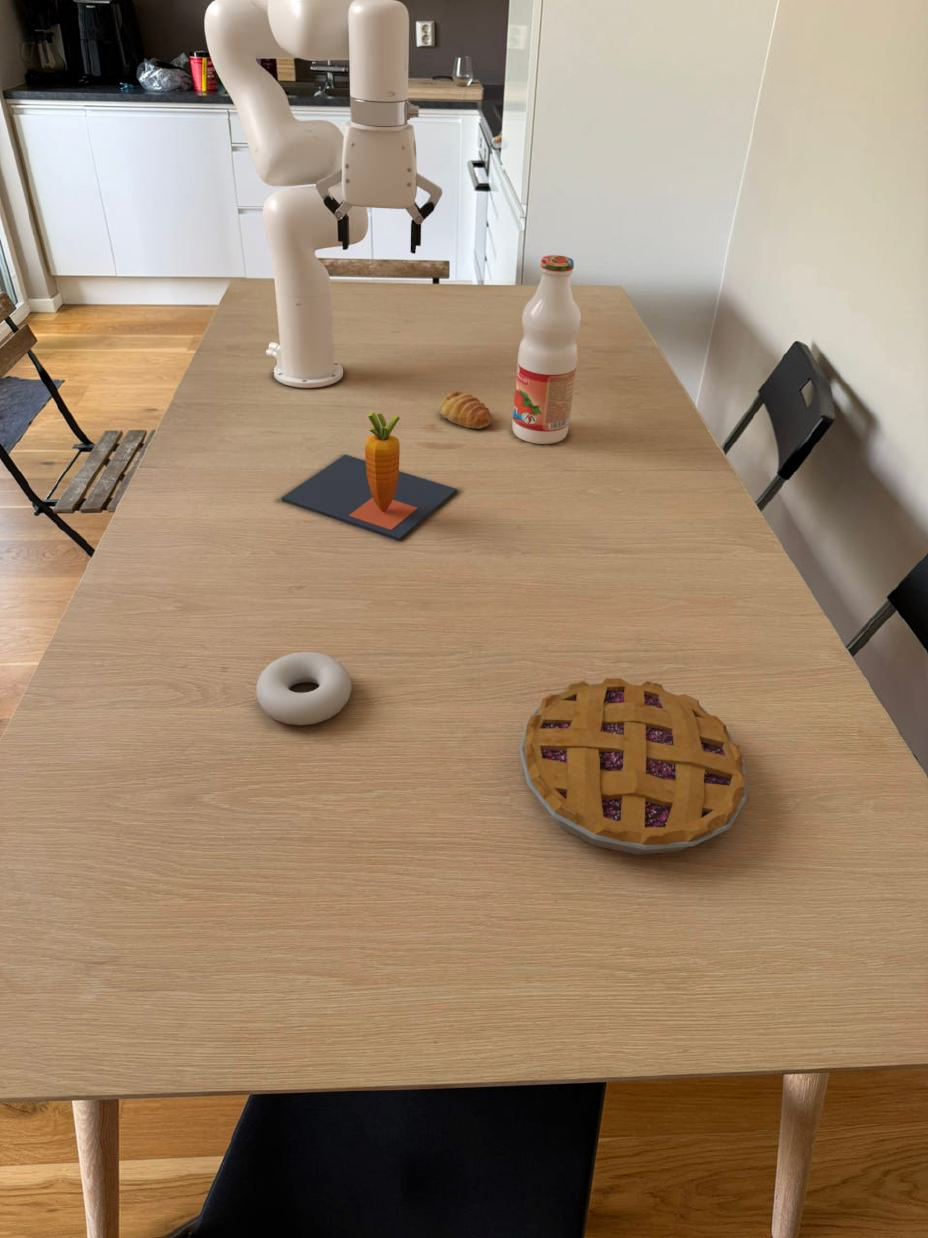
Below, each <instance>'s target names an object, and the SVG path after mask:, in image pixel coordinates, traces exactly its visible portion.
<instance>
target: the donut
mask: <svg viewBox="0 0 928 1238" xmlns="http://www.w3.org/2000/svg"><path fill="white" fill-rule="evenodd" d="M304 683H311V684H315V685H317V686H318V687H316V689H314V690H311V691H308V692H307V691H306V692H296V691H292V690H290V689H291V688H292V687H294V686H295V685H299V684H304ZM352 687H353V686H352V681H351V677H350V673H349V672H348V670H347V668H346V667H345V666H344V665H343V664H342V662H340V661H338V660H337V659H336V658H334V657H333V656H330V655H327V654H323V653H321V652H315V651H300V652H292V653H290V654H286V655H283V656H281V657H279V658H277V659H276V660H274V661H273V662H271V663H269V664H268V665H267V666H266V667H265V668H264V669H263V670H262V671H261V673H260V675H259V677H258V680H257V682H256V686H255V691H256V692H255V693H256V699H257V703H258V704H259V706H260V708H261V709H262V711H263V712H264V713H265V714H266V715H268V716H269V717H271V718H272V719H273V720H275V721H278V722H281V723H283V724H286V725H296V726H307V725H315V724H318V723H321V722H324V721H327V720H329V719H331V718H333V717H334V716H335V715H337V714H339V713H340V711H341V710H342V709H343V708H344V707H345V705H346V704H347V703H348V701H349V699H350V695H351V692H352Z"/></svg>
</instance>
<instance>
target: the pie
mask: <svg viewBox="0 0 928 1238" xmlns="http://www.w3.org/2000/svg"><path fill="white" fill-rule="evenodd" d="M699 701H700V700H698V699H696V698H694V697H692V696H690V695H688V694H686V693H683V694H679V695H677V694H675V693H672V692H670V691H668V690H665V689H664V687H663V685H662V684H661V683H656V682H652V681H648V680H647V681H645V682H643V683H642V684H640V685H639V684H634V683H629V682H627V681H625V680H624V679H622V677H621V678H613V677H612V678H605V679H604V680H603V681H602V682H601V683H600V682H599V683H587V682H586V681H585V680H582V681H578V682H573V683H569V685H568V687H567V688H566V689H565V690H563V691H560V692H557V693H550V694H549V695H547V696H546V697H543V698H542V699H541V702H540V705H539V707H538V708H537V709H536V710H534V712H533V713H532V714H531V715H530V716H529V717H528V718H527V719H526V723H525V727H524V731H523V735H522V738H521V743H520V747H519V755H520V758H521V763H522V767H523V771H524V775H525V779H526V783H527V786H528V787H529V788H530V790H531V791H532V792H533V794H534V795H535V796H536V797H537V799H538V800H539V801H540V803H542V805H543V807H545V809H546V810H547V811H548V812H549V814H550V815H551V817H552V818H553V819H554V821H555V822H556V823H557V824H558V826H559V827H560V829H562V830H563V831H565V832H567V833H569V834H571V835H573V836H574V837H576V838H578V839H580V840H582V841H584V842H586V843H588V844H590V845H592V846H594V847H599V848H604V849H609V850H612V851H618V852H622V853H627V854H631V855H637V856H638V855H651V854H652V855H653V854H663V853H664V854H665V853H675V852H676V853H677V852H681V851H683V850H685V849H687V848H690V847H694V846H696V845H699V844H700V843H703V842H705V841H707V840H709V839H711V838H713V837H715V836H717V835H719V834H721V833H723V832H726V831H728V830H730V829H731V827H732V825H733V823H734V822H735V820H736V819H737V817H738V815H739V814H740V811H741V810H742V808H743V806H744V805H745V803H746V801H747V775H746V764H745V762H744V760H743V754H742V751H741V748H740V745H739V744H736V743H735V742H734V740H733V737H732V736H731V734H730V732H729V731H728V729H727V725H726V724H725V723H724V722H723V721H722V720H721V719H720V718H719V717H718V716H716V715H712V714H710V713H709V712H708V711H707V710H705V708H703V707H702V706H701V705H700V702H699Z"/></svg>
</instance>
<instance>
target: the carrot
mask: <svg viewBox="0 0 928 1238" xmlns="http://www.w3.org/2000/svg"><path fill="white" fill-rule="evenodd" d="M367 418H368V419H369V421H370V423H371V424H372V426H373V427H369V428H368V431H369V432H370V433H372V435H370V436H368V437H367V438H366V439H365V444H364V446H365V447H364V455H365V456H364V457H365V461H366V471H367V478H368V483H369V487H370V491H371V494H372V497H373V499H374V501H375V503H376V504H377V506H378V508H379V509H380V510H381V511H383V512H384V511H386V510H387V509H388V507H389V506H390V504H391V502H392V500H393V498H394V495H395V492H396V487H397V482H398V476H399V471H400V455H401V454H400V451H401V449H400V445H401V443H400V439H399V438H398V437H397V436H394V435H392V434H391V433H392V431H393V430H394V429H395V426H396V425H397V423H398V422H399V420H400V419H401V417H400V416H399V415H397V414H395V415H394V416H392V418H391V419H390V421H389V424H388V425H387V422H386V419H385V416H384V415H383V413H382V412H378V413H377V414H376V413H375V412H374V411H371V412H369V413H368V415H367Z"/></svg>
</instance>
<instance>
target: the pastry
mask: <svg viewBox="0 0 928 1238" xmlns="http://www.w3.org/2000/svg"><path fill="white" fill-rule="evenodd" d="M438 408H439V412H440V414H441V415H442V417H443V418H444V419H447V421H449V422H451V423H453V424H456V425H458V426H459V427H461V426H462V427H463V428H467V429H478V430H481V429H483V428H485V427H487V426H489V425H490V424H491V421H492V419H493V415H492V414H491V412H490V410H489V408H488V407H486V405H485V403H483V402H481V401H480V400H479V398H478V397H476V396H475V397H474V396H473V395H472V394H470V393H465V394H464V393H463V392H461V391H458V390H453V391H451V392H449V393H448V394H447V395H446V396H444V397H443V399H442V401H441V402H440V404H439V407H438Z"/></svg>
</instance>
